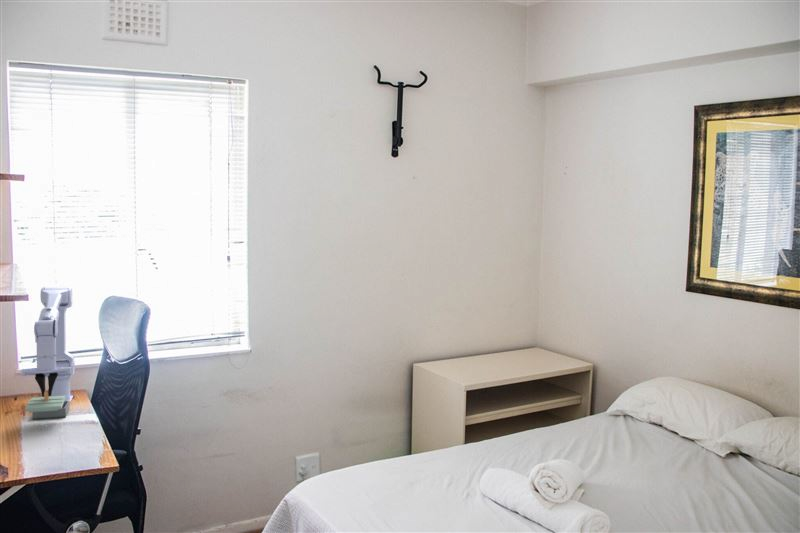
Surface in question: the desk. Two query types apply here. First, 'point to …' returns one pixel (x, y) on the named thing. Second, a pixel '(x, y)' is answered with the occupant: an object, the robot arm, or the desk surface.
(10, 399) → the desk surface
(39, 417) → the tub
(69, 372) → the robot arm
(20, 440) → the desk surface
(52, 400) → the lid
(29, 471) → the desk surface
